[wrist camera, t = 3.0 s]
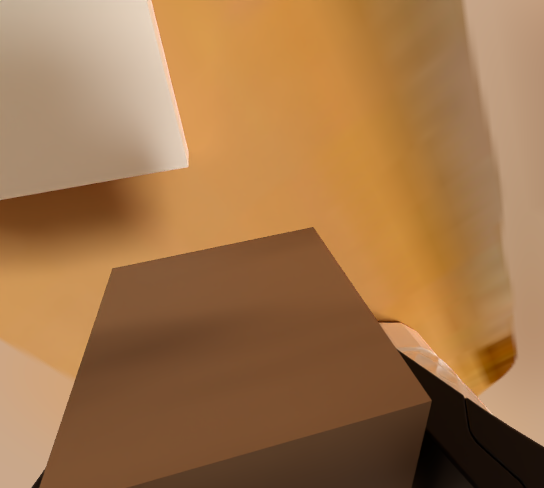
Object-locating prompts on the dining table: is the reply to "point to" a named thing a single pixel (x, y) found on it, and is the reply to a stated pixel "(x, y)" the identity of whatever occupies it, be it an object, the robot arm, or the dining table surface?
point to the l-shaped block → (83, 95)
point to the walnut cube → (239, 378)
